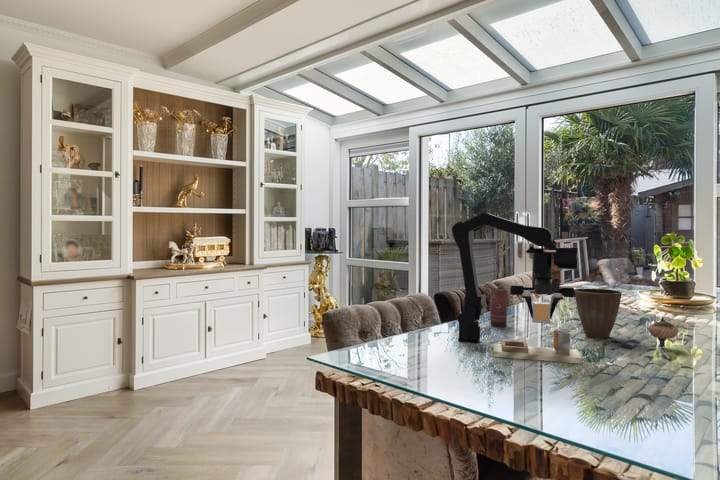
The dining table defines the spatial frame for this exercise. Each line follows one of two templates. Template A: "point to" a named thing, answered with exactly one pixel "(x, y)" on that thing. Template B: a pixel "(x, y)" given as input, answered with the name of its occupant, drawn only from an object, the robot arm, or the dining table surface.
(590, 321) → the plant pot
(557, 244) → the robot arm
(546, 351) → the cream wooden stand
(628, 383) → the dining table surface
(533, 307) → the white wood-topped block
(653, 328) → the lidded footed bowl
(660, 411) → the dining table surface
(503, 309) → the brown rounded cylinder
